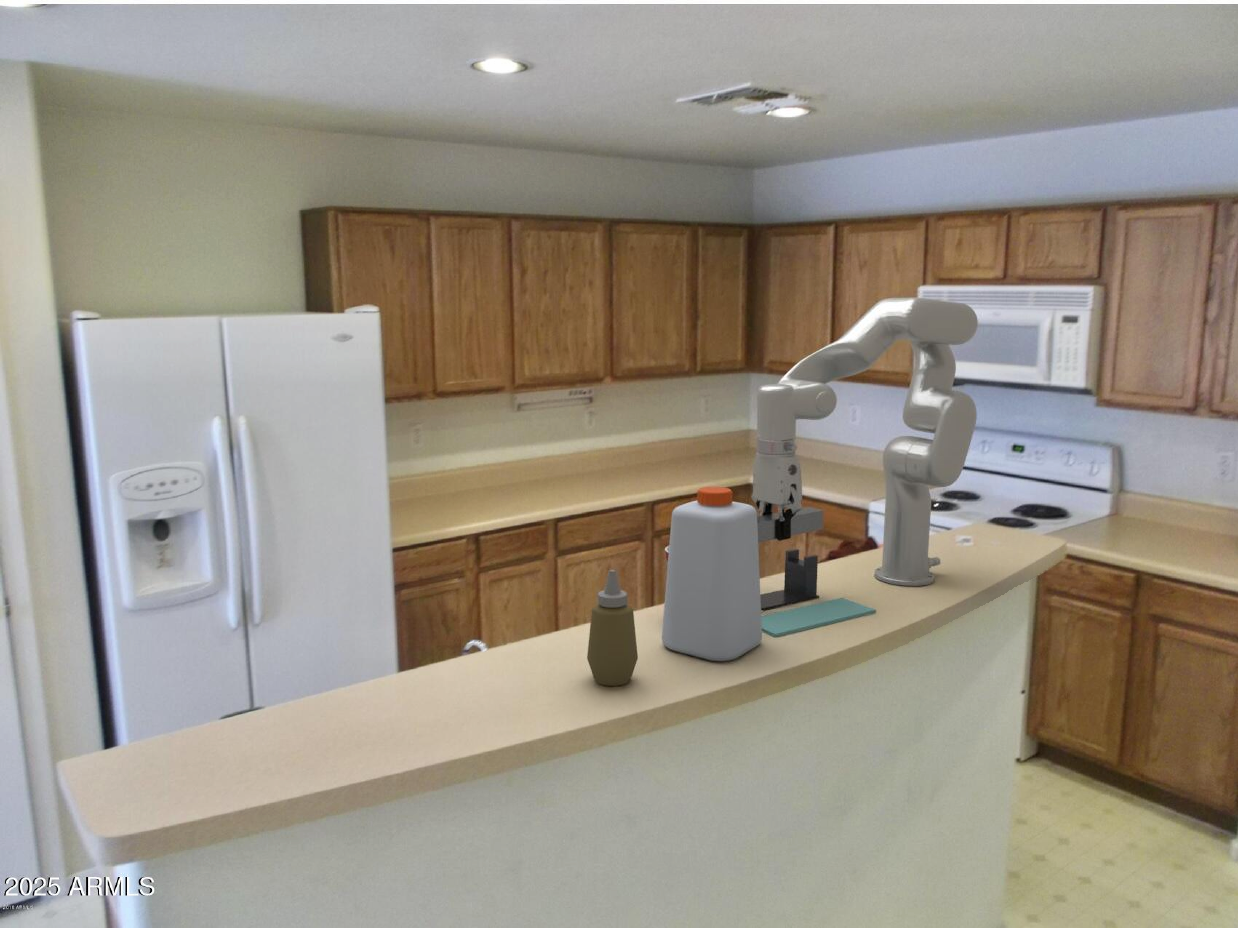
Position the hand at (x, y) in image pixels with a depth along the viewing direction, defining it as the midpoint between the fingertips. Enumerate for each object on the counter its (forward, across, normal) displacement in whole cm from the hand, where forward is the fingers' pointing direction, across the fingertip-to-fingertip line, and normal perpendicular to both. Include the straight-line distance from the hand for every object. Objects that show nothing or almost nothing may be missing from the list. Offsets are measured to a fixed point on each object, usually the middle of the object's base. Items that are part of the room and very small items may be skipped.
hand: (775, 535), depth 181 cm
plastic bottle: (+13, -13, +26) cm, 32 cm away
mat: (+14, -11, +1) cm, 18 cm away
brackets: (+14, 0, +1) cm, 14 cm away
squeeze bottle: (+12, -17, +49) cm, 53 cm away
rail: (0, 0, 0) cm, 0 cm away
